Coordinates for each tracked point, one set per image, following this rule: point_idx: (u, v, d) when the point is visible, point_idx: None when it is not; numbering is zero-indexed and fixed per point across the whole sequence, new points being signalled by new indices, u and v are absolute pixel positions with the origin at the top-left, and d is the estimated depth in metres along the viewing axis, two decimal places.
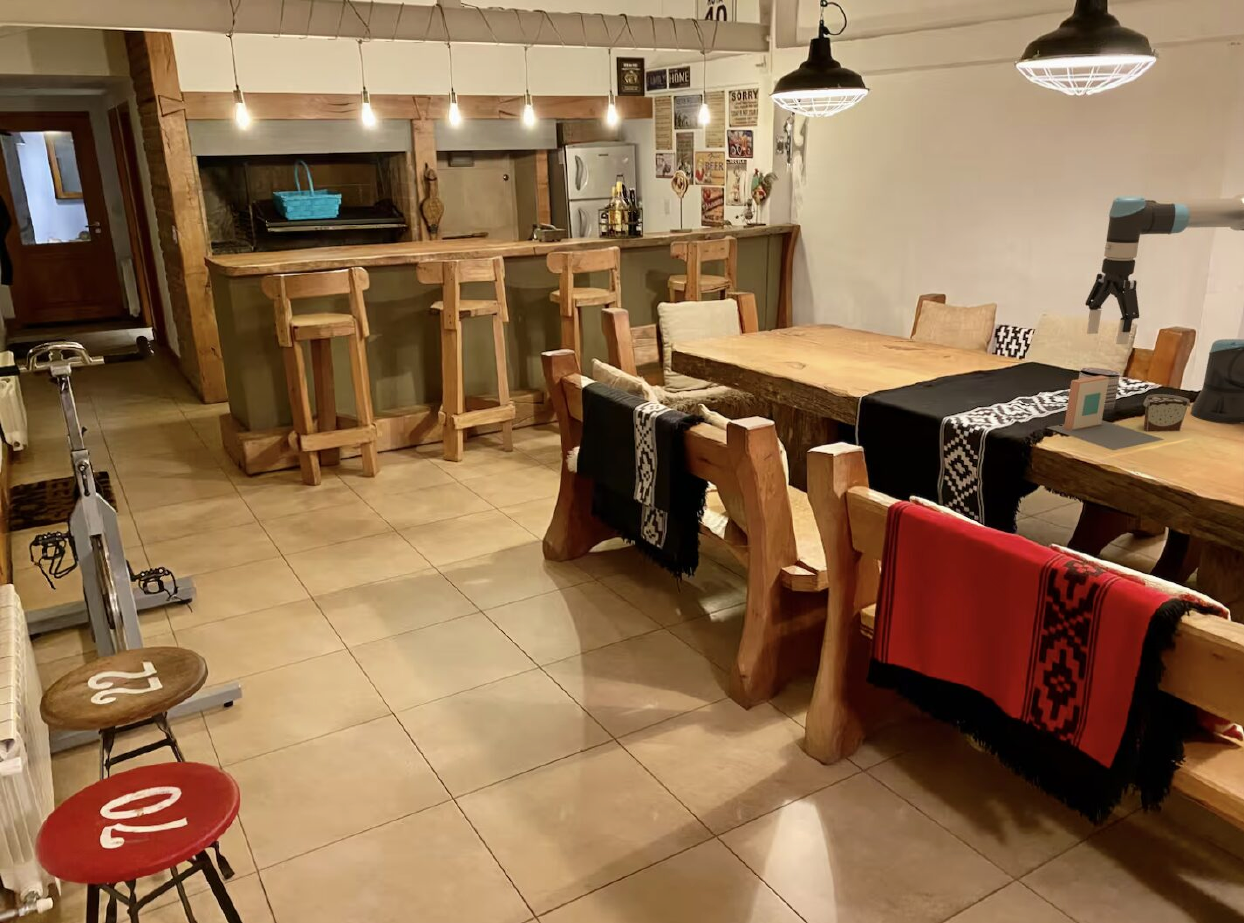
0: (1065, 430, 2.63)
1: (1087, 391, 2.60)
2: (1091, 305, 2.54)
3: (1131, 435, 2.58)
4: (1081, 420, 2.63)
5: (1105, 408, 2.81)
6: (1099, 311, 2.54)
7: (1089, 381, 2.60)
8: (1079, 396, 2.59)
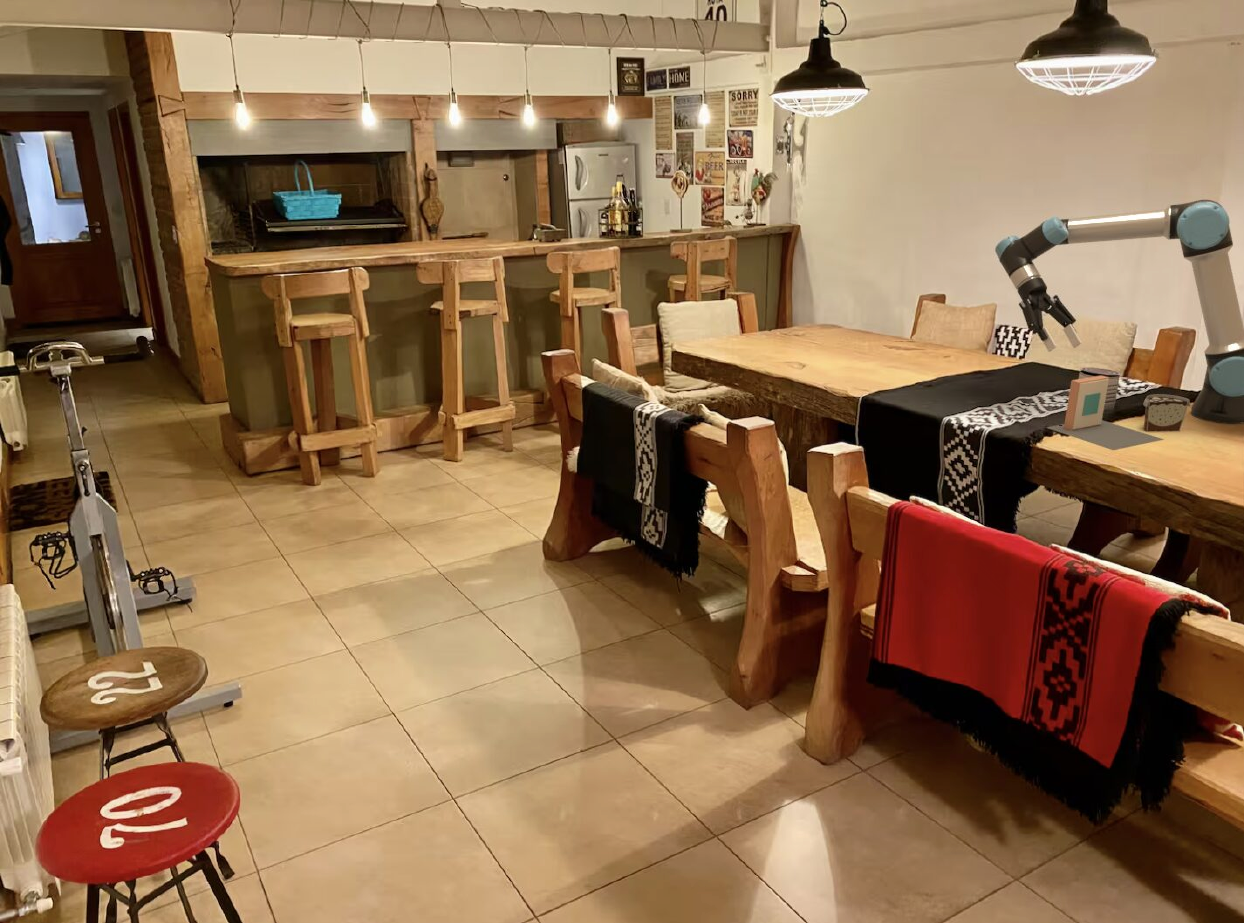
0: (1065, 430, 2.63)
1: (1087, 391, 2.60)
2: None
3: (1131, 435, 2.58)
4: (1081, 420, 2.63)
5: (1105, 408, 2.81)
6: (1068, 326, 2.71)
7: (1089, 381, 2.60)
8: (1079, 396, 2.59)
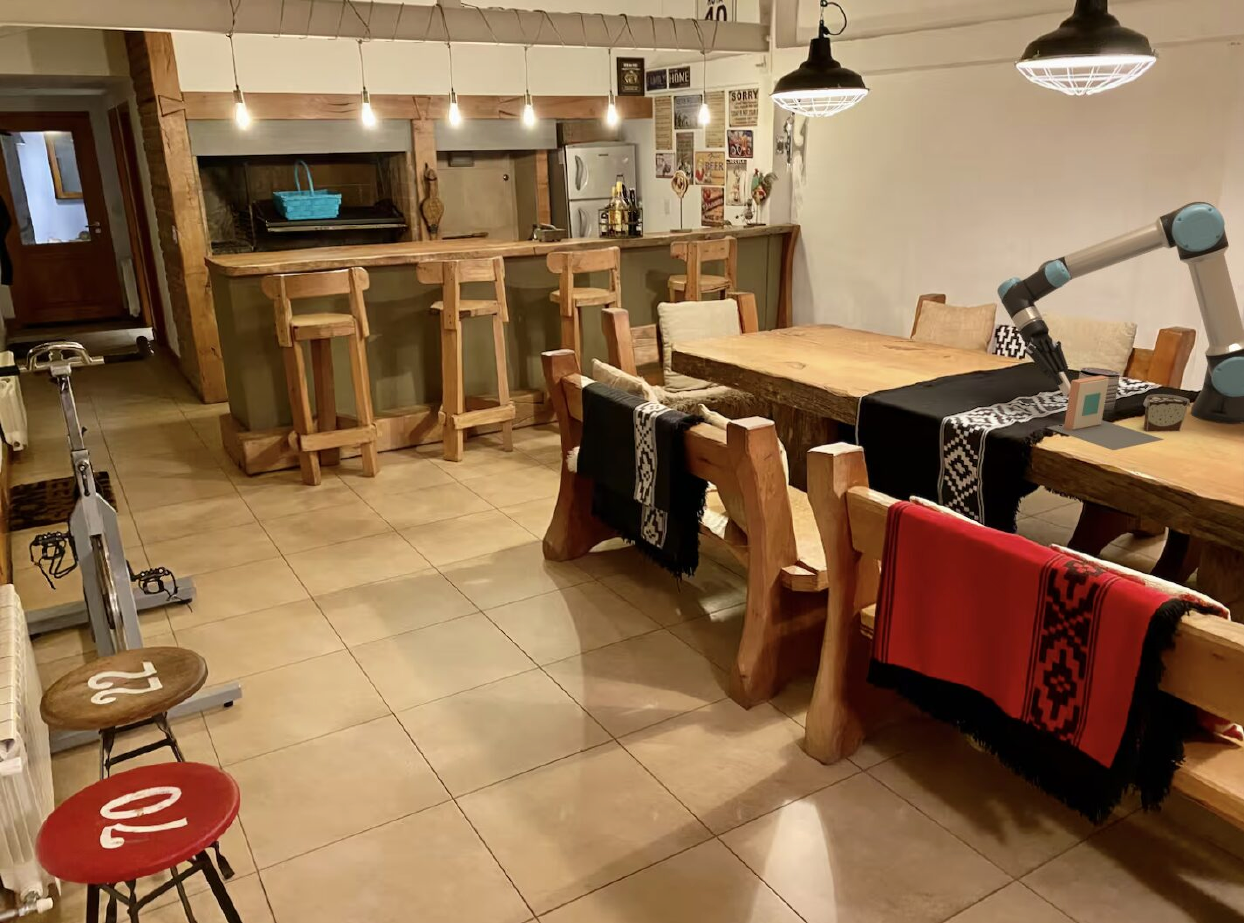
0: (1065, 430, 2.63)
1: (1087, 391, 2.60)
2: None
3: (1131, 435, 2.58)
4: (1081, 420, 2.63)
5: (1105, 408, 2.81)
6: None
7: (1089, 381, 2.60)
8: (1079, 396, 2.59)
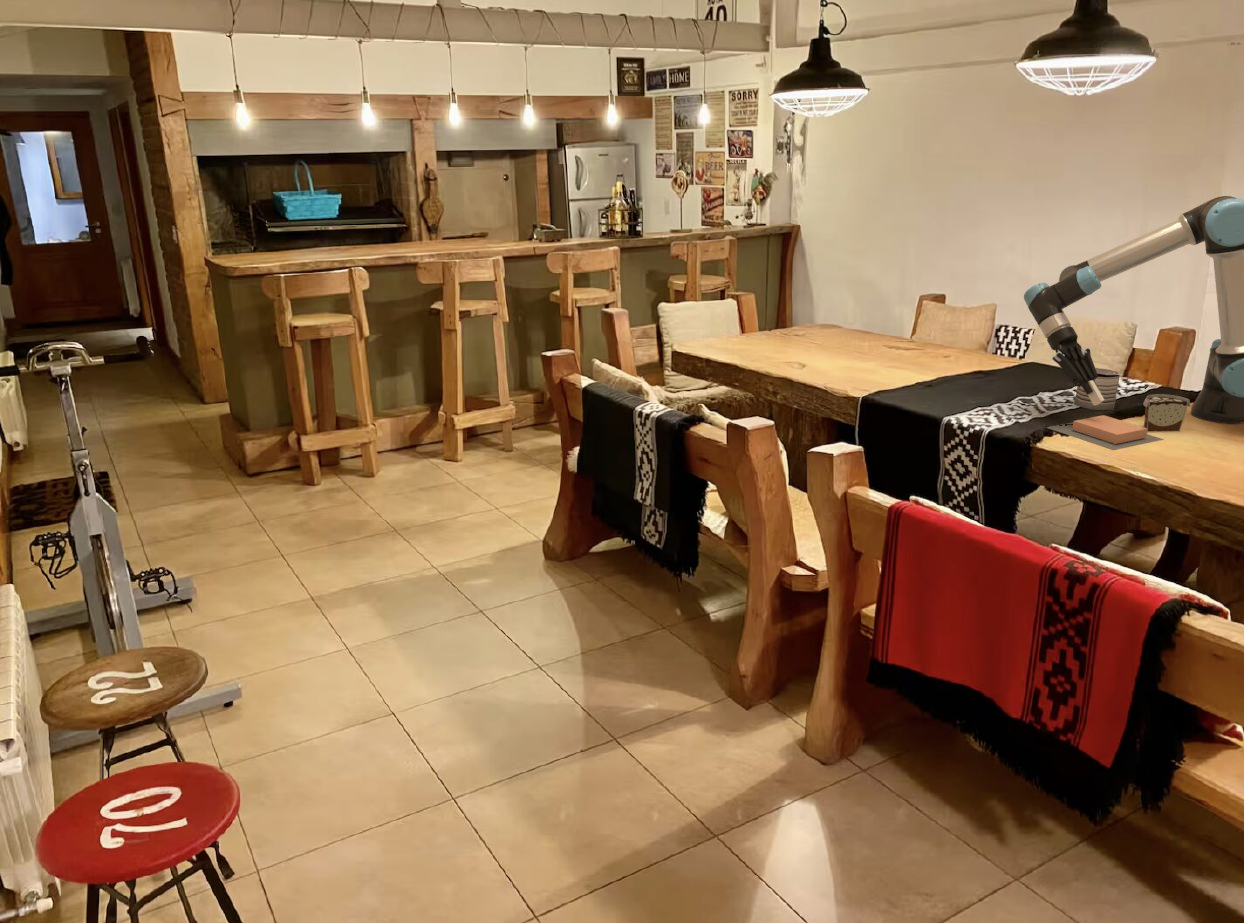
0: (1065, 430, 2.63)
1: None
2: None
3: None
4: None
5: (1105, 408, 2.81)
6: None
7: (1125, 441, 2.52)
8: None
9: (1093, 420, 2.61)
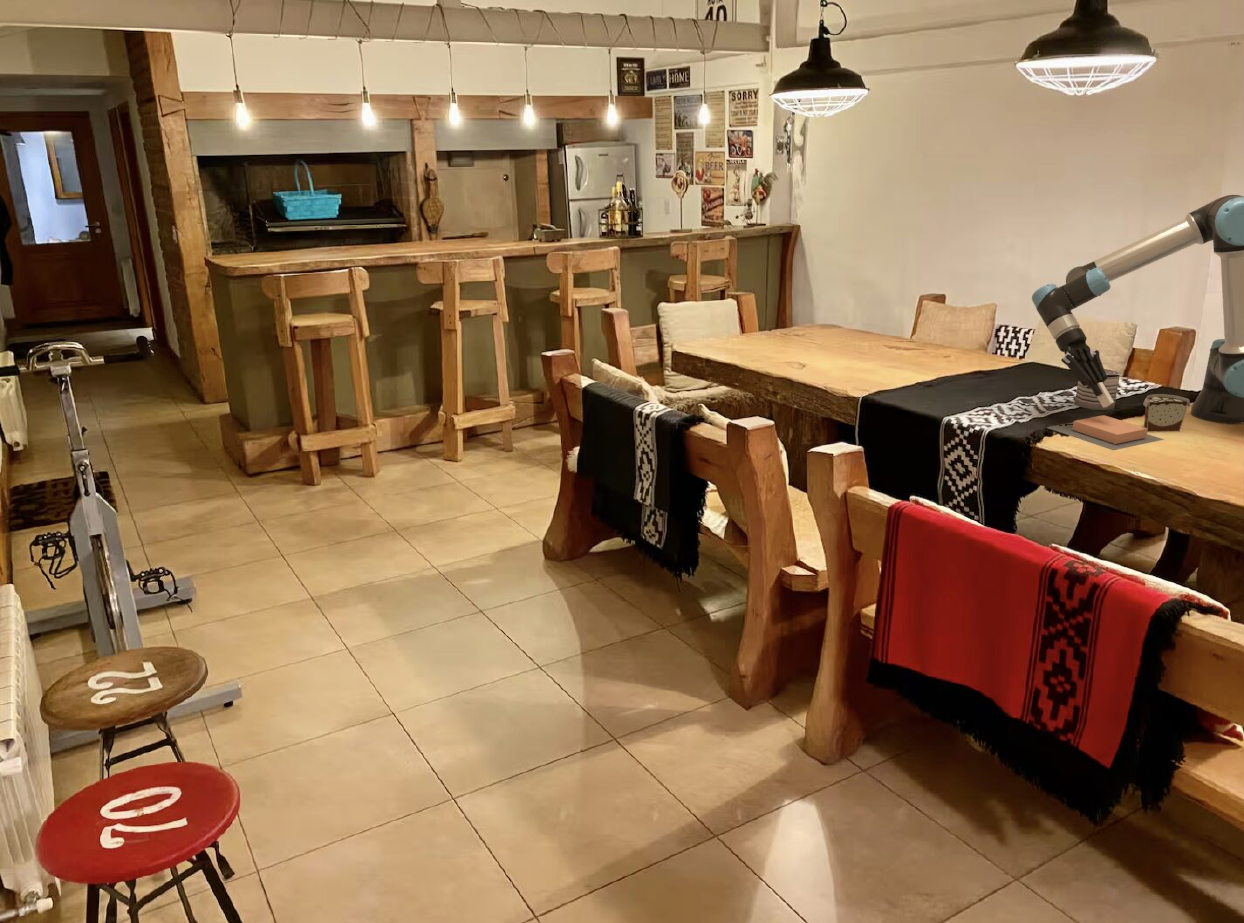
0: (1065, 430, 2.63)
1: None
2: None
3: None
4: None
5: (1105, 408, 2.81)
6: None
7: (1125, 441, 2.52)
8: None
9: (1093, 420, 2.61)
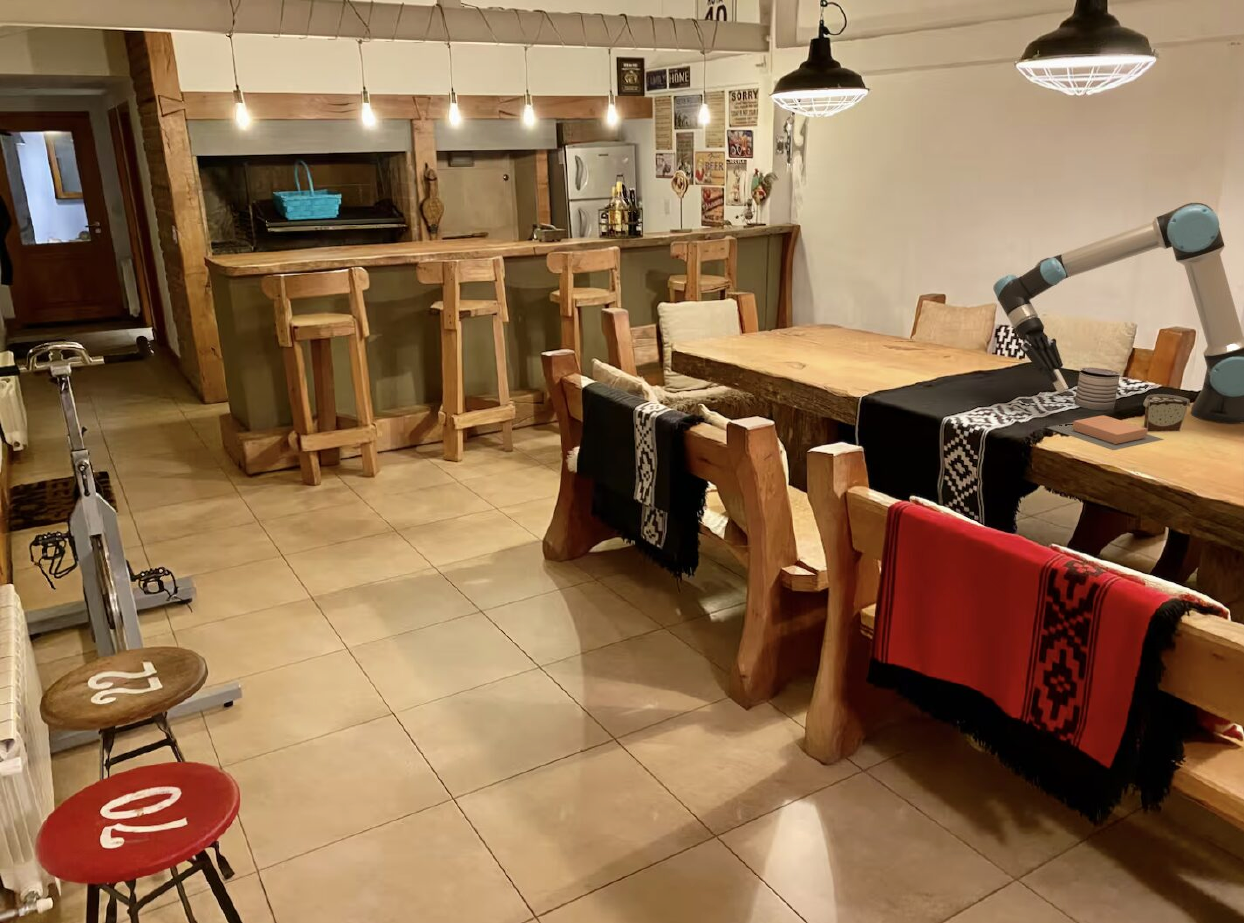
0: (1065, 430, 2.63)
1: None
2: None
3: None
4: None
5: (1105, 408, 2.81)
6: None
7: (1125, 441, 2.52)
8: None
9: (1093, 420, 2.61)
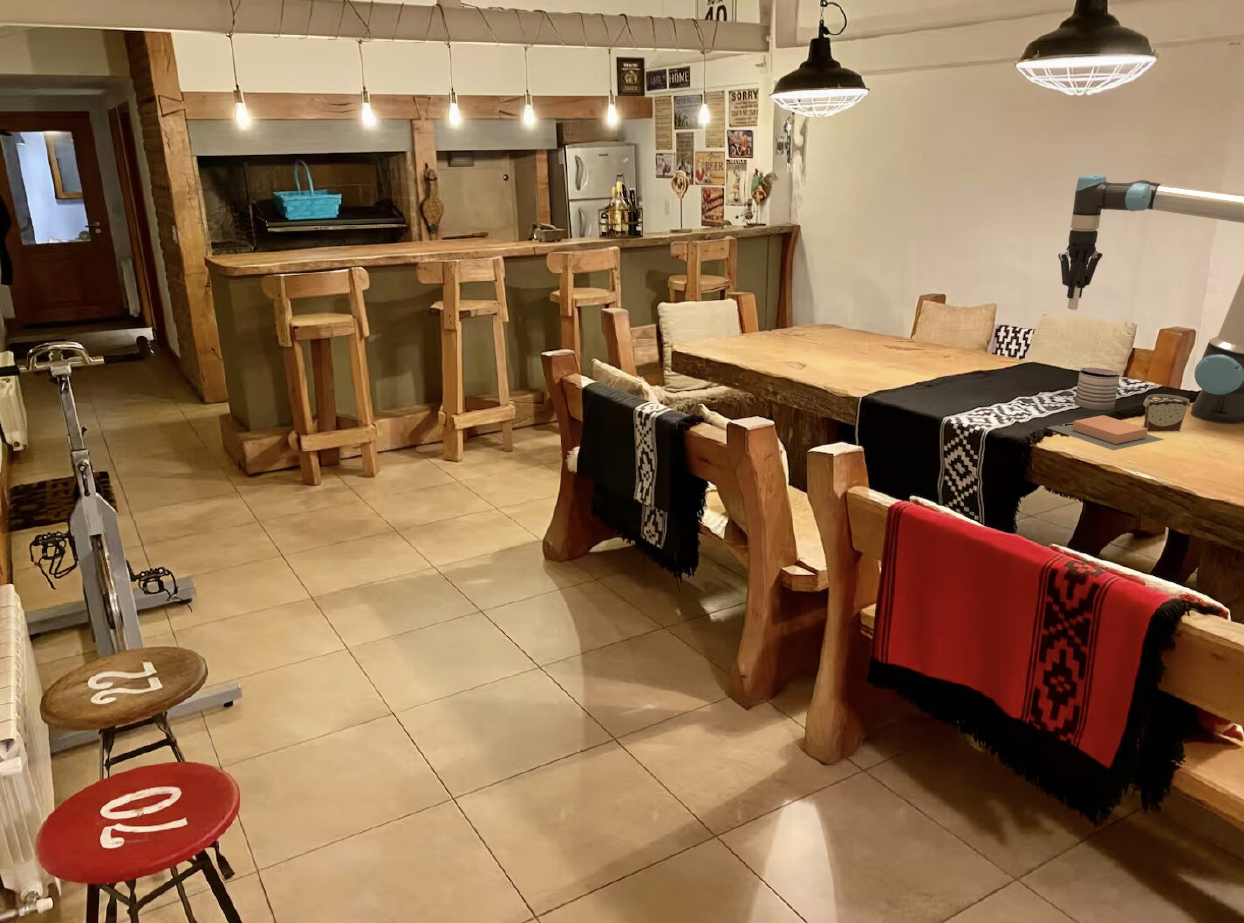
0: (1065, 430, 2.63)
1: None
2: None
3: None
4: None
5: (1105, 408, 2.81)
6: None
7: (1125, 441, 2.52)
8: None
9: (1093, 420, 2.61)
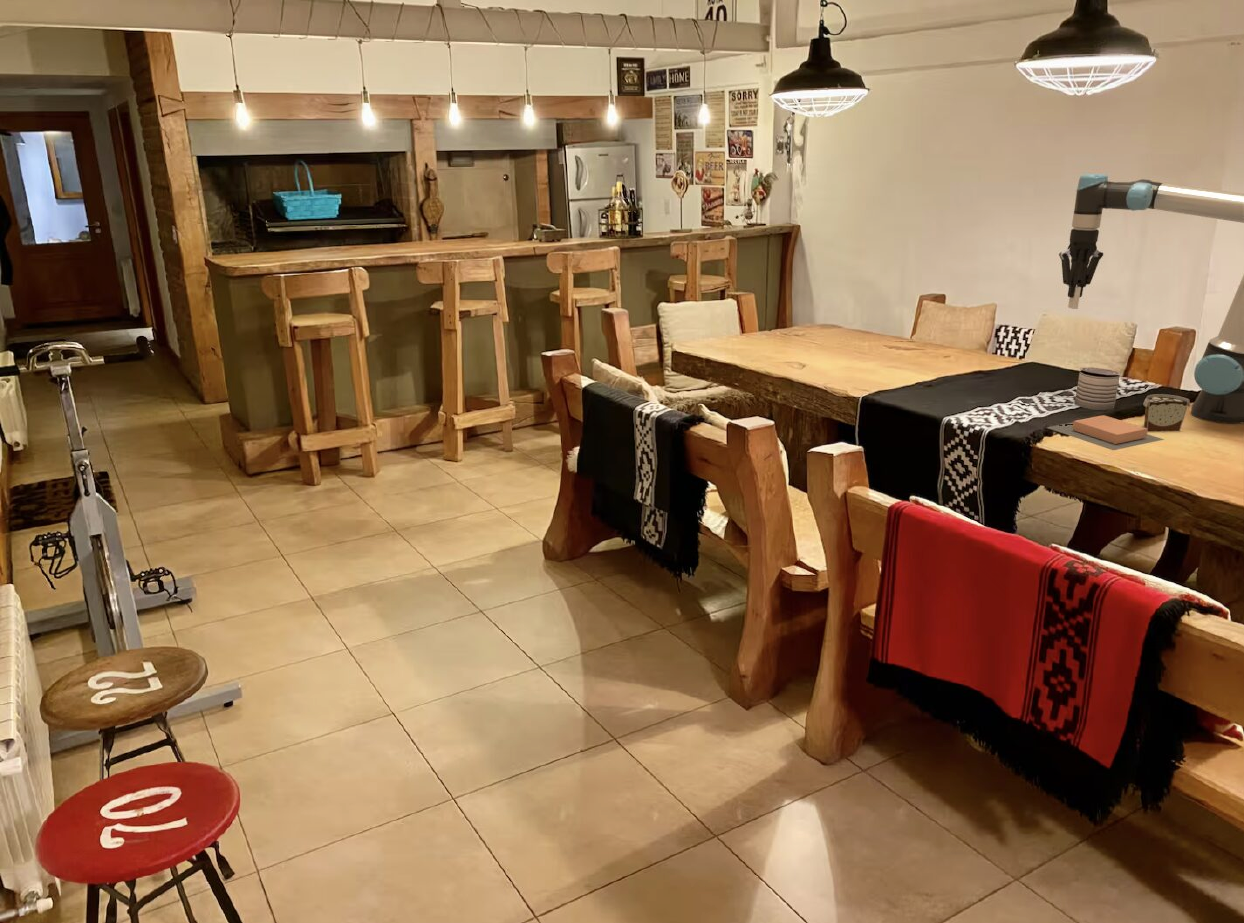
0: (1065, 430, 2.63)
1: None
2: None
3: None
4: None
5: (1105, 408, 2.81)
6: None
7: (1125, 441, 2.52)
8: None
9: (1093, 420, 2.61)
